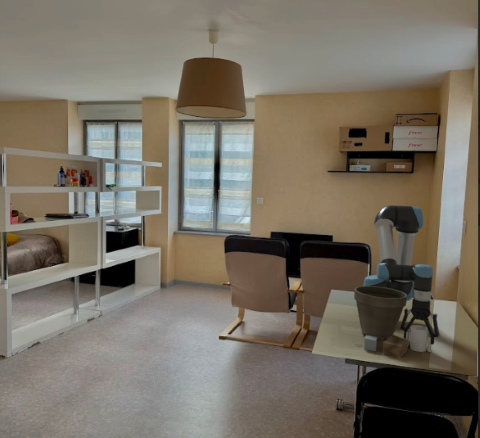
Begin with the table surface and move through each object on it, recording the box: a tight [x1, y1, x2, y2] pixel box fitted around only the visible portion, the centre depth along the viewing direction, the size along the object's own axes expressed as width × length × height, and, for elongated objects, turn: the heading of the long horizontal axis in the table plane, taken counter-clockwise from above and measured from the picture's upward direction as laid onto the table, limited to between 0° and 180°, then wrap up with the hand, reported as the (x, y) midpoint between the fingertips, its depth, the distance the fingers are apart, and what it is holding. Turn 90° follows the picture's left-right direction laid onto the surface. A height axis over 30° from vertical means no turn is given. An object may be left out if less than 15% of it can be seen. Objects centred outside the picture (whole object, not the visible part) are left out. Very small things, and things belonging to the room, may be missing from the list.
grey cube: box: [363, 335, 378, 352], centre depth 195 cm, size 5×5×5 cm
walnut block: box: [382, 335, 409, 359], centre depth 192 cm, size 8×11×5 cm
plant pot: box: [353, 285, 408, 340], centre depth 215 cm, size 25×25×22 cm
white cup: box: [409, 324, 430, 353], centre depth 197 cm, size 8×8×10 cm
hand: (418, 348), depth 197 cm, fingers open, 9 cm apart
